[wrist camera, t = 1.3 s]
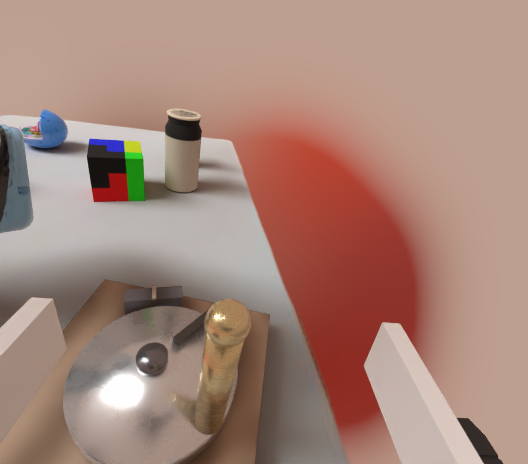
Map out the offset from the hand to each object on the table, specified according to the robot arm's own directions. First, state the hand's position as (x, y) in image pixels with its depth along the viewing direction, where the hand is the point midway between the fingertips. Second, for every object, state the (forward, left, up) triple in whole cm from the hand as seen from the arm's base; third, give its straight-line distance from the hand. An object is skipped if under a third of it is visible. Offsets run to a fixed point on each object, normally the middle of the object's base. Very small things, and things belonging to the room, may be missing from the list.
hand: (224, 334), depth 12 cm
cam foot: (-8, +6, -22) cm, 24 cm away
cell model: (-78, +39, -25) cm, 90 cm away
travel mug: (-40, +48, -25) cm, 67 cm away
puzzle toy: (-48, +36, -25) cm, 65 cm away
